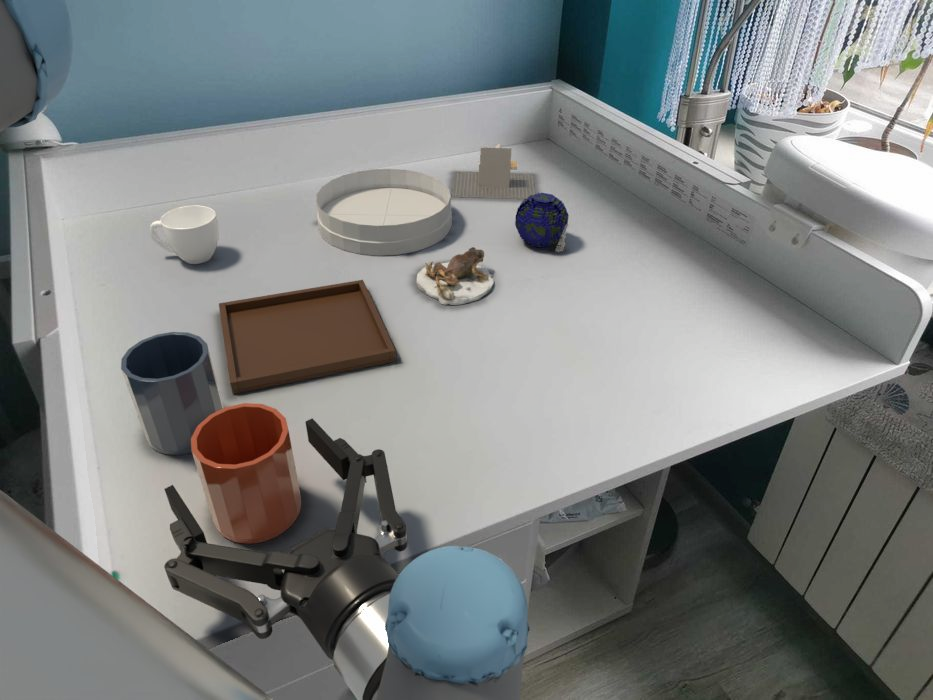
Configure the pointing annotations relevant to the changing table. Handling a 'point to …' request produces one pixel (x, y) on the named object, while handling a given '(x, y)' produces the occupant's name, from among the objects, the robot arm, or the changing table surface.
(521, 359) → the changing table surface
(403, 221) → the dish
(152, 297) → the changing table surface
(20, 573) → the robot arm
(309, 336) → the tray
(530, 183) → the architectural model
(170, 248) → the cup
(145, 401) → the slate cup
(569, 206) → the changing table surface
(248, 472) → the terracotta cup
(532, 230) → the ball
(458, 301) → the frog figurine
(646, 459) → the changing table surface
